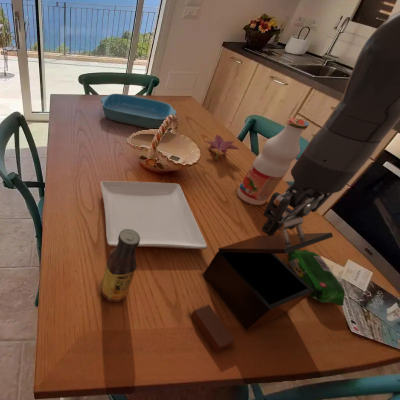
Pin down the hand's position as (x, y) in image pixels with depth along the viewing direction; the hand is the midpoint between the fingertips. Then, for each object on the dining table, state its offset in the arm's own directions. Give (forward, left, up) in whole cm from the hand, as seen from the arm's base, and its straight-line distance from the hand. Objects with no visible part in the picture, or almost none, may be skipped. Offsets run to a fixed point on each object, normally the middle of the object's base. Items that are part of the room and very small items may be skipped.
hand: (277, 229), depth 54 cm
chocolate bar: (-8, +14, -20) cm, 26 cm away
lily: (+49, -38, -20) cm, 66 cm away
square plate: (+26, +10, -20) cm, 35 cm away
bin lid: (-1, 0, -4) cm, 4 cm away
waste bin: (-3, 0, -20) cm, 20 cm away
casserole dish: (+89, -21, -20) cm, 94 cm away
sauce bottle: (+7, +30, -20) cm, 37 cm away
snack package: (-6, -19, -20) cm, 28 cm away
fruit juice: (+24, -31, -20) cm, 44 cm away
